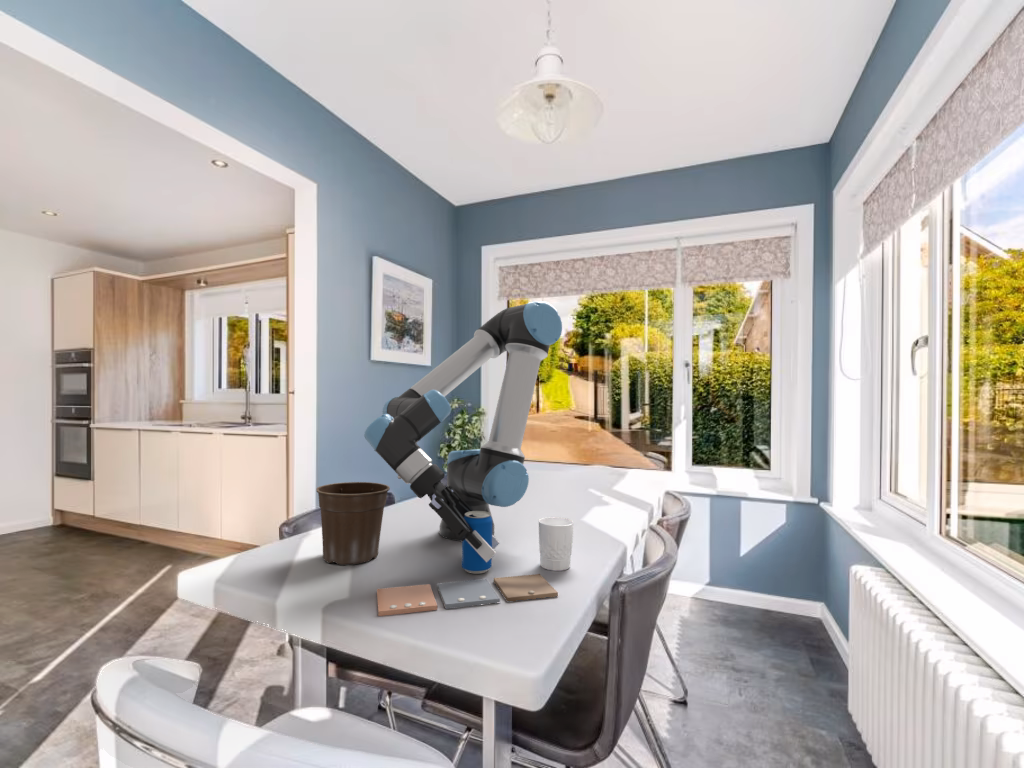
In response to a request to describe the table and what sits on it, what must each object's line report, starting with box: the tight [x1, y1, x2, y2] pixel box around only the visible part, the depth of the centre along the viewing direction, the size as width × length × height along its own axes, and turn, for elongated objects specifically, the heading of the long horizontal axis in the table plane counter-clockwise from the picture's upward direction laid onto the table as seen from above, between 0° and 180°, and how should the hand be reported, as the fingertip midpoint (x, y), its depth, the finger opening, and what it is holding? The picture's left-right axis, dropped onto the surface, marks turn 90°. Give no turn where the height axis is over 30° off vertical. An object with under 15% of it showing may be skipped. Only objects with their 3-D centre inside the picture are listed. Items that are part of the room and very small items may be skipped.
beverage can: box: [461, 511, 493, 575], centre depth 105 cm, size 6×6×12 cm
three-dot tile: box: [376, 583, 438, 617], centre depth 89 cm, size 10×10×1 cm
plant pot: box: [315, 481, 391, 566], centre depth 113 cm, size 16×16×16 cm
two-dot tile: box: [436, 578, 501, 610], centre depth 92 cm, size 10×10×1 cm
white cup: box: [538, 516, 574, 572], centre depth 110 cm, size 8×8×10 cm
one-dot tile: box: [493, 573, 559, 602], centre depth 96 cm, size 10×10×1 cm
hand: (493, 551), depth 105 cm, fingers closed on beverage can, 6 cm apart
